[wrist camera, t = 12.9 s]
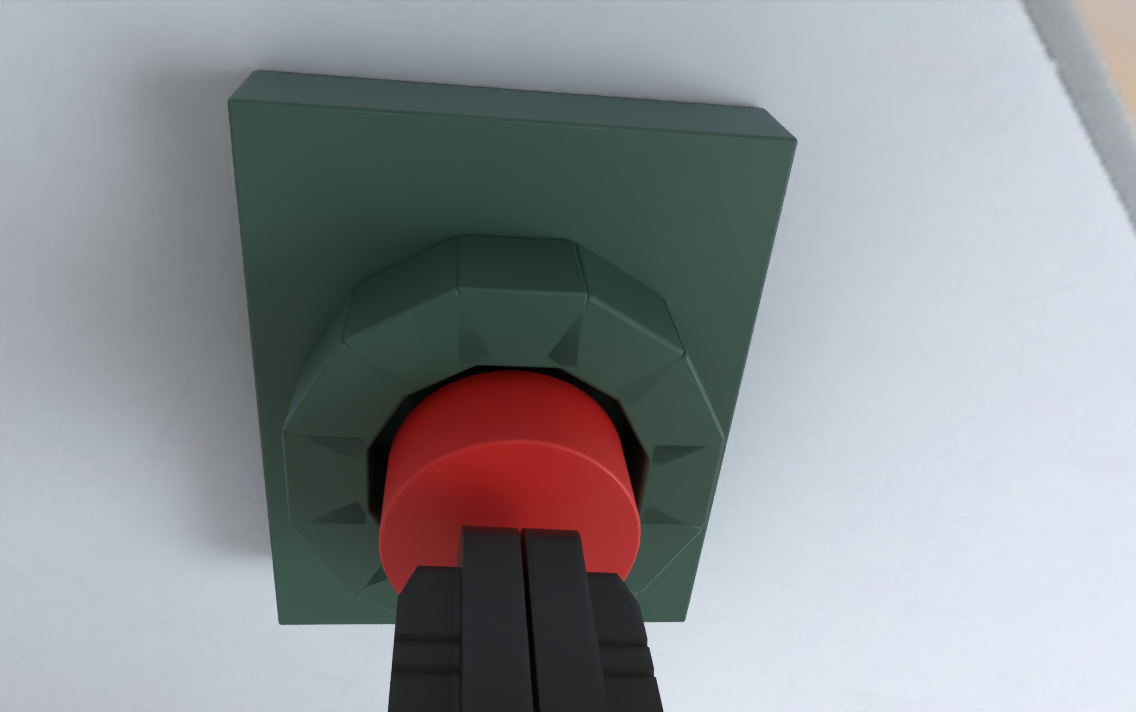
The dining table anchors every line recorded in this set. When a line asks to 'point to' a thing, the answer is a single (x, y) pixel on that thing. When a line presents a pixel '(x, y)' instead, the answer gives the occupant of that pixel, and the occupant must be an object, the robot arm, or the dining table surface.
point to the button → (506, 472)
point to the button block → (492, 295)
